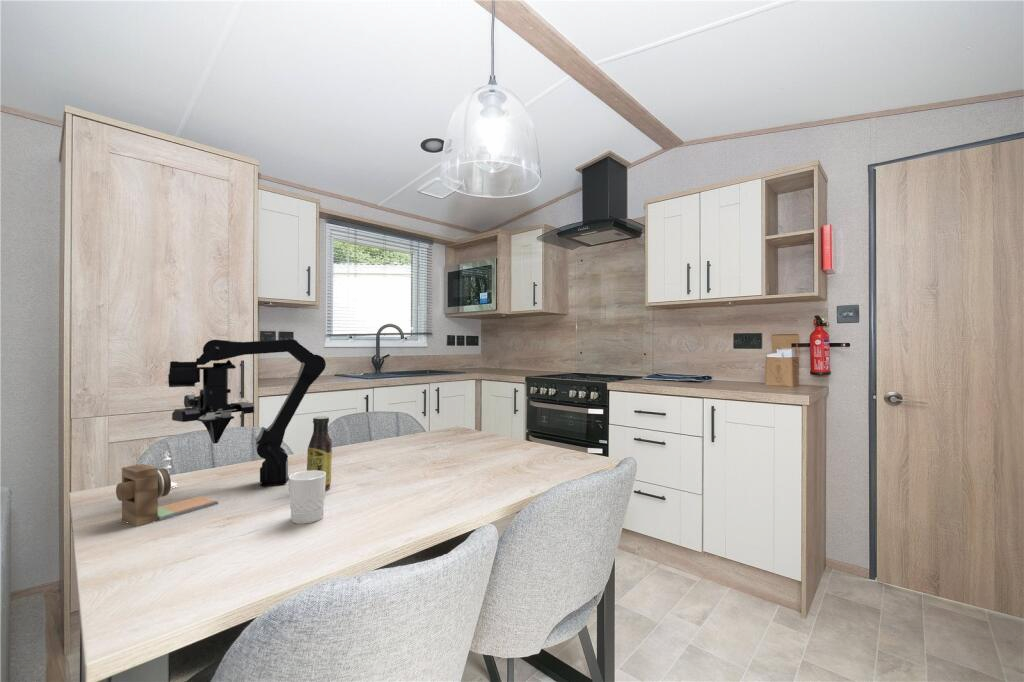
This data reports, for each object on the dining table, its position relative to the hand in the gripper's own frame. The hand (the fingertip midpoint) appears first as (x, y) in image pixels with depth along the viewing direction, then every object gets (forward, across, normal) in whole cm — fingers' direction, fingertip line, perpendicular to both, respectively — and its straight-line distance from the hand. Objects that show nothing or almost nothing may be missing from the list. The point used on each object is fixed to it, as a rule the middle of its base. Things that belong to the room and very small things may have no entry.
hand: (215, 443), depth 127 cm
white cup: (+13, +1, +39) cm, 41 cm away
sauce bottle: (+13, -15, +23) cm, 31 cm away
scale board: (+13, +12, +7) cm, 19 cm away
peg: (+9, +20, +7) cm, 23 cm away
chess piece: (+13, +5, -15) cm, 21 cm away
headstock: (+13, +20, +7) cm, 25 cm away
